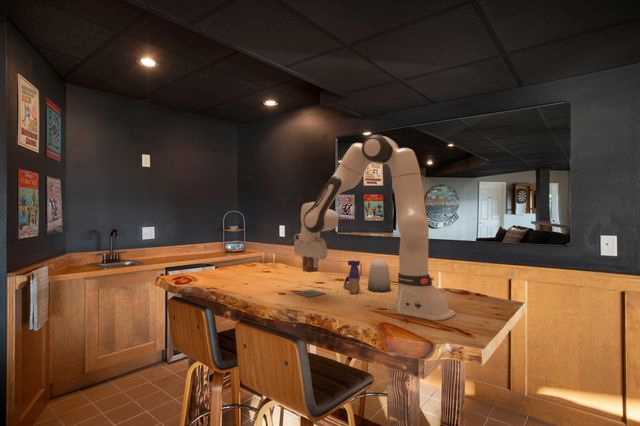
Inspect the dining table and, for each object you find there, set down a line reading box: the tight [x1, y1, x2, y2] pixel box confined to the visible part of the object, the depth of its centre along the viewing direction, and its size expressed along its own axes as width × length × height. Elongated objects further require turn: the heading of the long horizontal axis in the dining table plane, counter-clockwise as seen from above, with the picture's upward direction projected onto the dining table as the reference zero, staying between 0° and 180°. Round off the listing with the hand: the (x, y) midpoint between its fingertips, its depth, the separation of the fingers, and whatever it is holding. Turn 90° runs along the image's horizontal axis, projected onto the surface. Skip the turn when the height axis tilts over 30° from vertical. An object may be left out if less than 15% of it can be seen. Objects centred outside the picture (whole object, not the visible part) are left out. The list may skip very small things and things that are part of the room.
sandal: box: [343, 260, 361, 295], centre depth 177 cm, size 8×20×15 cm, turn 175°
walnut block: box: [302, 257, 319, 273], centre depth 168 cm, size 5×5×6 cm
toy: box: [367, 258, 392, 293], centre depth 177 cm, size 11×11×15 cm
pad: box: [295, 289, 327, 299], centre depth 168 cm, size 10×10×1 cm
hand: (310, 266), depth 168 cm, fingers closed on walnut block, 5 cm apart
